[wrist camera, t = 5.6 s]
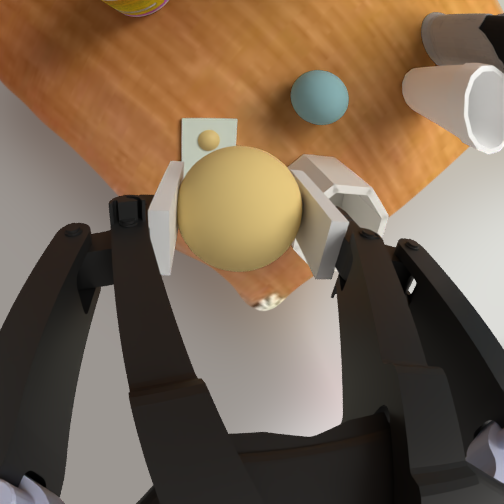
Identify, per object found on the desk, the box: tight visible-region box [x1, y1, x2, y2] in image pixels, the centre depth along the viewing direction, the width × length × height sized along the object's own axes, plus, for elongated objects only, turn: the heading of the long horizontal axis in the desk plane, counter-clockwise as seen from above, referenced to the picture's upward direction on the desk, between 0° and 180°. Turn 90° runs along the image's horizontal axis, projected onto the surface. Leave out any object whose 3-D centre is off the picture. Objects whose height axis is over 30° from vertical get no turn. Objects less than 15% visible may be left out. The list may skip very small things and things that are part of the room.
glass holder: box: [421, 12, 504, 73], centre depth 18 cm, size 9×14×15 cm, turn 140°
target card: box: [182, 118, 237, 177], centre depth 32 cm, size 9×6×1 cm, turn 176°
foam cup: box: [402, 63, 504, 154], centre depth 24 cm, size 10×9×13 cm
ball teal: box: [291, 70, 349, 125], centre depth 27 cm, size 6×6×6 cm
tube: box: [287, 154, 389, 272], centre depth 32 cm, size 10×10×10 cm
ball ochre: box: [177, 146, 302, 272], centre depth 14 cm, size 6×6×6 cm
